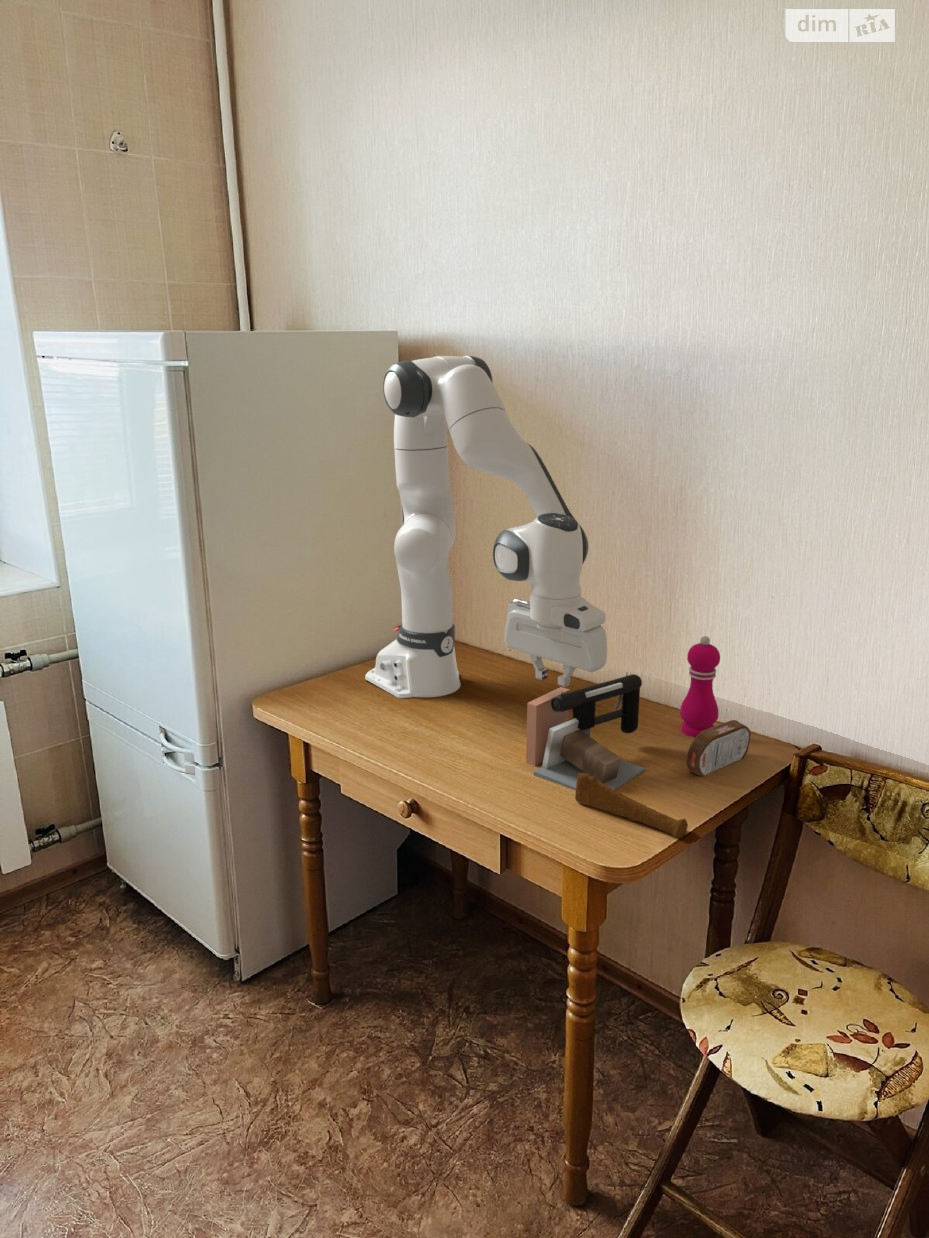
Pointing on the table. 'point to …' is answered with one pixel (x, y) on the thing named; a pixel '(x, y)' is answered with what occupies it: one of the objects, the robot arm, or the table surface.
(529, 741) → the tile
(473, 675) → the table surface
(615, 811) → the primitive tool
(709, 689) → the pepper mill
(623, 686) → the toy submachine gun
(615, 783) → the mat
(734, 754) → the tin
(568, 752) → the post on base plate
